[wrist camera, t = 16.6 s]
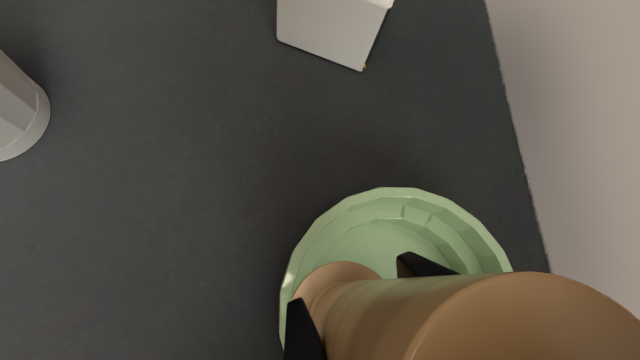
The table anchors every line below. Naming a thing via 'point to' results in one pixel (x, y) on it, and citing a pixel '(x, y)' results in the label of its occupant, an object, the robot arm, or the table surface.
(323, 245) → the bowl
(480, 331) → the tan wooden tall piece
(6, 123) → the cup
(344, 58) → the medicine bottle
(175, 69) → the table surface
